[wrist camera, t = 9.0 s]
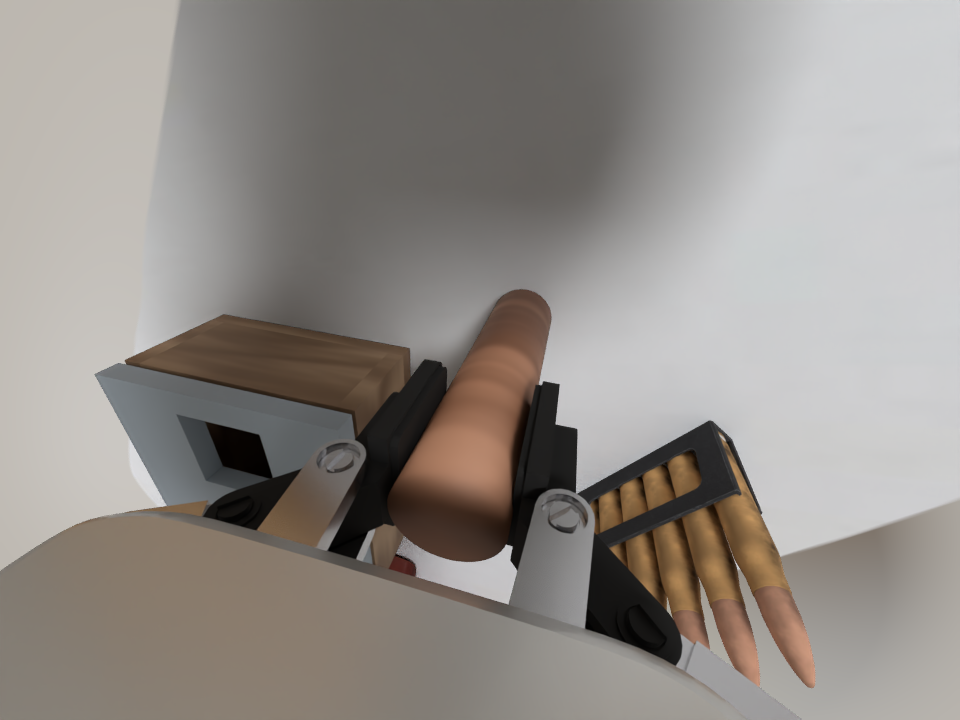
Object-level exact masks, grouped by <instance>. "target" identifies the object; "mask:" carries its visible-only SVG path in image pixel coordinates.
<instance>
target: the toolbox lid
mask: <svg viewBox="0 0 960 720" xmlns="http://www.w3.org/2000/svg"><path fill="white" fill-rule="evenodd" d="M95 376H96V378H97V380H98V381H99V383H100V385H101V387H102V389H103V391H104V393H105V394H106V396H107V398H108V400H109V402H110V403H111V405H112V407H113V409H114V411H115V412H116V414H117V416H118V418H119V420H120V421H121V423H122V425H123V427H124V429H125V431H126V432H127V434H128V436H129V438H130V440H131V442H132V443H133V445H134V447H135V449H136V451H137V452H138V454H139V456H140V458H141V460H142V462H143V463H144V465H145V467H146V469H147V471H148V472H149V474H150V476H151V478H152V480H153V482H154V483H155V485H156V487H157V489H158V491H159V492H160V494H161V496H162V498H163V500H164V501H165V503H166V505H167V506H171V505H178V504H185V503H192V502H199V501H206V500H208V501H209V503H210V504H213V503H214V502H215V501H216V500H218V499H219V498H221V497H222V496H224V495H226V494H228V493H230V492H233V491H235V490H238V489H241V488H244V487H247V486H250V485H253V484H256V483H259V482H262V481H265V480H268V479H269V478H265V477H261V476H257V475H254V474H250V473H246V472H242V471H239V470H235V469H231V468H227V467H224V466H222V463H221V461H220V458H219V456H218V453H217V451H216V448H215V446H214V443H213V441H212V438H211V436H210V433H209V431H208V428H207V426H206V423H205V421H206V422H210V423H214V424H218V425H222V426H226V427H231V428H235V429H239V430H243V431H247V432H251V433H255V434H259V435H260V437H261V441H262V444H263V447H264V450H265V453H266V457H267V460H268V463H269V466H270V469H271V473H272V476H273V478H274V477H278V476H281V475H284V474H287V473H290V472H293V471H296V470H299V469H302V468H303V467H304V466H305V464H306V463H307V461H308V460H309V459H310V457H311V456H312V455H313V453H314V452H315V451H316V450H317V449H318V448H319V447H321V446H322V445H324V444H326V443H328V442H331V441H333V440H339V439H352V440H355V435H354V428H353V421H352V414H347V413H343V412H338V411H334V410H329V409H325V408H320V407H316V406H311V405H307V404H302V403H298V402H293V401H288V400H284V399H279V398H275V397H270V396H266V395H261V394H257V393H252V392H248V391H243V390H239V389H234V388H230V387H225V386H221V385H216V384H212V383H207V382H203V381H198V380H194V379H189V378H185V377H180V376H176V375H171V374H167V373H162V372H158V371H153V370H149V369H144V368H140V367H135V366H130V365H126V364H121V363H118V364H115V365H113V366H111V367H109V368H107V369H105V370H102V371H100V372H98V373H96V374H95ZM363 562H366V563H370V564H373V563H372V556H371V548H370V545H369V548H368V550H367V552H366V555H365V557H364V559H363Z"/></svg>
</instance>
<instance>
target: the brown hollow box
mask: <svg viewBox="0 0 960 720" xmlns="http://www.w3.org/2000/svg"><path fill="white" fill-rule="evenodd" d="M125 362H126V364H127V365H130V366H135V367H140V368H144V369H149V370H153V371H158V372H162V373H167V374H171V375H176V376H180V377H185V378H189V379H194V380H198V381H203V382H207V383H212V384H216V385H221V386H225V387H230V388H234V389H239V390H243V391H248V392H252V393H257V394H261V395H266V396H270V397H275V398H279V399H284V400H288V401H293V402H298V403H302V404H307V405H311V406H316V407H320V408H325V409H329V410H334V411H338V412H343V413H347V414H352V421H353V428H354V435H355V439H356V438H357V437H358V435H359V434H360V433H361V432H362V430H363V429H364V428H365V426H366V425H367V424H368V423H369V421H370V420H371V419H372V418H373V416H374V415H375V414H376V412H377V411H378V410H379V409H380V407H381V406H382V405H383V404H384V402H385V401H386V400H387V398H388V397H389V396H390V395H391V394H392V393H393V392H400V391H401V390H402V388H403V387H404V386H405V384H406V383H407V382H408V380H409V379H410V378H411V376H410V348H405V347H400V346H394V345H389V344H383V343H378V342H372V341H367V340H361V339H356V338H350V337H345V336H339V335H334V334H328V333H323V332H317V331H312V330H306V329H301V328H295V327H290V326H284V325H279V324H273V323H268V322H262V321H257V320H251V319H246V318H240V317H235V316H229V315H222V316H219V317H217V318H215V319H213V320H211V321H209V322H206V323H204V324H202V325H200V326H198V327H196V328H193V329H191V330H189V331H187V332H185V333H183V334H180V335H178V336H176V337H174V338H172V339H170V340H167V341H165V342H163V343H161V344H159V345H157V346H154V347H152V348H150V349H148V350H146V351H144V352H141V353H139V354H137V355H135V356H133V357H131V358H128V359H126V360H125ZM205 423H206V426H207V428H208V431H209V433H210V436H211V438H212V441H213V443H214V446H215V448H216V451H217V453H218V456H219V458H220V461H221V463H222V466H224V467H227V468H231V469H235V470H239V471H242V472H246V473H250V474H254V475H257V476H261V477H265V478H269V479H271V478H273V476H272V473H271V469H270V466H269V463H268V460H267V457H266V453H265V450H264V447H263V444H262V441H261V437H260V435H259V434H255V433H251V432H247V431H243V430H239V429H235V428H231V427H226V426H222V425H218V424H214V423H210V422H206V421H205ZM403 537H404V535H403V534H402V533H401V532H400V531H399V530H398V528H397V527H396V526H390V525H387V524H383V525H382V526H380V527H378V528H375V533H374V536H373V538H372V541H371V543H370V548H371V556H372V563H373V565H377V566H380V567H383V568H387V569H389V567H390V565H391V562H392V560H393V558H394V556H395V554H396V552H397V550H398V547H399V545H400V543H401V541H402V539H403Z"/></svg>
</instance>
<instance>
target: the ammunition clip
mask: <svg viewBox="0 0 960 720" xmlns="http://www.w3.org/2000/svg"><path fill="white" fill-rule="evenodd" d="M578 495H579V496H581V497H582V498H583V499H585V500H586V502H587V503H588V504H589V505H590V506H591V508H592V511H593V513H594V518H595V527H594V532H595V533H596V535H597V536H598V537H599V538H600V539H601V540H602V541H603V542H604V543H605V544H606V545H607V546H608V548H609V549H610V550H611V551H612V552H613V553H614V554H615V555H616V556H617V557H618V558H619V559H620V561H621V562H622V563H623V564H624V565H625V566H626V567H627V568H628V569H629V570H630V571H631V572H632V574H633V575H634V576H635V577H636V578H637V579H638V580H639V581H640V582H641V583H642V584H643V585H644V587H645V588H646V589H647V590H648V591H649V592H650V593H651V594H652V595H653V596H654V597H655V598H656V600H657V601H658V602H659V603H660V604H661V605H662V606H663V607H664V608H665V609H666V610H667V598H668V600H669V605H670V609H671V613H672V617H673V619H674V621H675V623H676V626H677V628H678V630H679V632H680V634H681V635H683V636H684V637H685V638H687V639H688V640H689V641H690V642H692V643H693V644H694V643H695V642H696V641H698V642H700V643H701V644H702V645H704V646H705V647H706V648H708V649H709V650H710V646H709V640H708V635H707V631H706V627H705V622H704V614H703V610H702V605H701V594H700V583H699V579H700V581H701V583H702V585H703V587H704V589H705V592H706V595H707V598H708V601H709V604H710V607H711V609H712V611H713V615H714V618H715V622H716V625H717V628H718V631H719V634H720V637H721V639H722V642H723V644H724V647H725V649H726V651H727V654H728V656H729V658H730V660H731V662H732V664H733V666H734V668H735V669H736V670H737V671H738V672H740V673H741V674H742V675H744V676H745V677H746V678H748V679H749V680H750V681H752V682H753V683H754V684H756V685H757V686H758V687H759V685H760V673H759V662H758V656H757V649H756V644H755V640H754V636H753V632H752V628H751V625H750V621H749V618H748V615H747V612H746V610H745V609H746V608H745V604H744V600H743V597H742V594H741V590H740V586H739V578H738V572H737V567H736V564H735V561H736V563H737V564H738V566H739V568H740V569H741V571H742V573H743V574H744V576H745V578H746V580H747V582H748V585H749V586H750V589H751V592H752V594H753V596H754V597H755V599H756V602H757V604H758V606H759V609H760V612H761V614H762V617H763V619H764V621H765V623H766V625H767V627H768V629H769V631H770V633H771V635H772V637H773V639H774V641H775V643H776V644H777V646H778V648H779V649H780V651H781V653H782V654H783V656H784V657H785V659H786V661H787V662H788V663H789V665H790V666H791V668H792V669H793V671H794V672H795V673H796V675H797V676H798V677H799V678H800V679H801V681H802V682H803V683H804V684H805V685H806V686H807V687H809V688H813V687H814V686H815V666H814V661H813V655H812V650H811V646H810V642H809V639H808V635H807V632H806V629H805V626H804V623H803V621H802V618H801V615H800V613H799V611H798V608H797V606H796V604H795V601H794V599H793V597H792V592H791V590H790V587H789V585H788V583H787V580H786V578H785V575H784V572H783V567H782V562H781V558H780V555H779V553H778V550H777V548H776V546H775V544H774V542H773V540H772V538H771V536H770V533H769V531H768V529H767V527H766V525H765V523H764V521H763V518H762V516H761V514H762V511H761V509H760V506H759V504H758V501H757V499H756V496H755V494H754V492H753V489H752V487H751V484H750V482H749V480H748V477H747V475H746V472H745V470H744V468H743V465H742V463H741V460H740V458H739V455H738V453H737V451H736V448H735V446H734V443H733V441H732V439H731V438H730V437H729V436H728V435H727V434H726V433H725V432H723V431H722V430H721V429H720V428H719V427H718V426H717V425H716V424H715V423H714V422H713V421H708V422H706V423H704V424H702V425H701V426H699V427H697V428H695V429H693V430H691V431H690V432H688V433H686V434H684V435H682V436H681V437H679V438H677V439H675V440H673V441H672V442H670V443H668V444H666V445H664V446H663V447H661V448H659V449H657V450H655V451H654V452H652V453H650V454H648V455H646V456H644V457H643V458H641V459H639V460H637V461H635V462H634V463H632V464H630V465H628V466H626V467H625V468H623V469H621V470H619V471H617V472H616V473H614V474H612V475H610V476H608V477H607V478H605V479H603V480H601V481H599V482H597V483H596V484H594V485H592V486H590V487H588V488H587V489H585V490H583V491H581V492H579V493H578ZM723 529H724V530H723ZM724 532H725V533H724ZM725 535H726V536H725ZM727 540H728V541H727ZM728 543H729V544H728ZM729 546H730V547H729ZM730 548H731V550H730ZM731 551H732V553H731ZM732 554H733V555H732ZM733 556H734V558H733ZM734 559H735V561H734ZM698 577H699V578H698Z"/></svg>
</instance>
